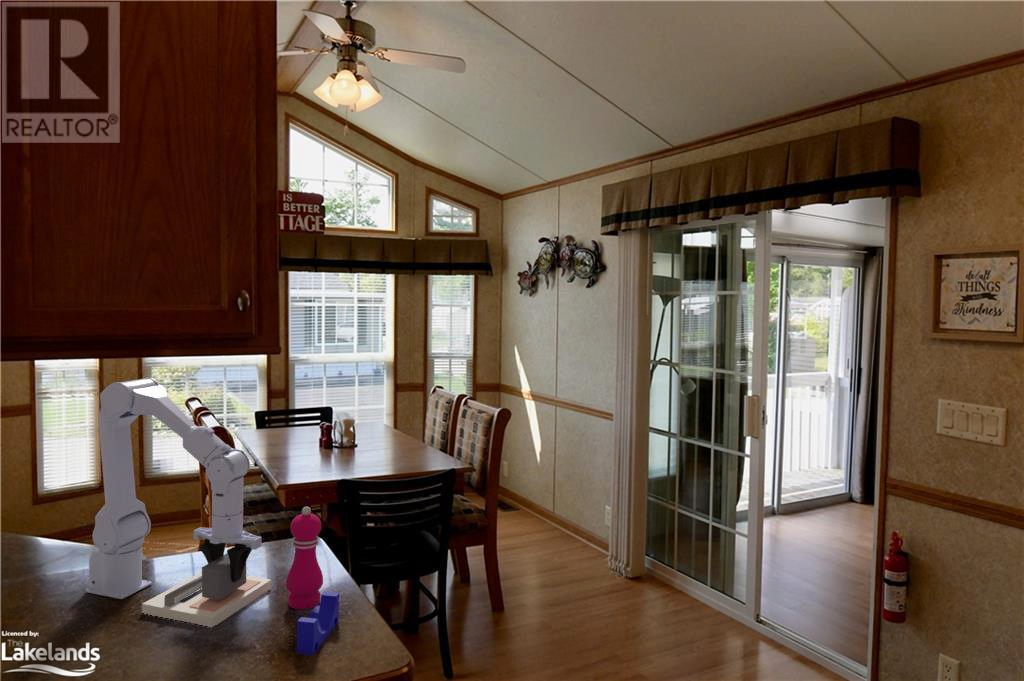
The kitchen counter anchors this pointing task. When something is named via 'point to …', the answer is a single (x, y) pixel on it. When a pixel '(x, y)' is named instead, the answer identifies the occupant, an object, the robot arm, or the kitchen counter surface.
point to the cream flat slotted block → (204, 601)
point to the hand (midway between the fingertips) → (226, 578)
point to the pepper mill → (305, 562)
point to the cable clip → (318, 624)
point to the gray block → (219, 579)
